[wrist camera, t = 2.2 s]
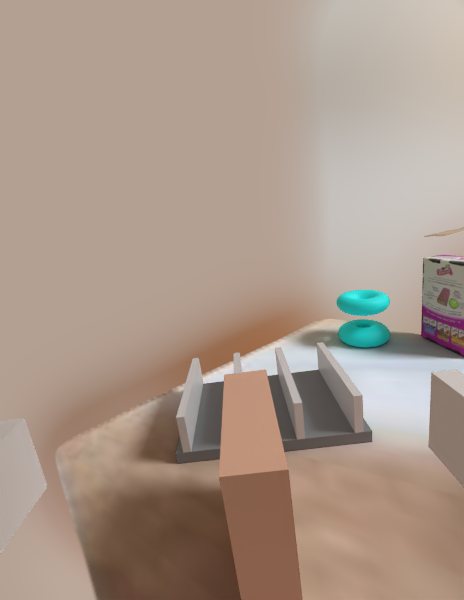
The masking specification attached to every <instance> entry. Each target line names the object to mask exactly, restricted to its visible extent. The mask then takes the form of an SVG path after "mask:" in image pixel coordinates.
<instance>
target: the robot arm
mask: <svg viewBox="0 0 464 600" xmlns="http://www.w3.org/2000/svg"><path fill="white" fill-rule="evenodd" d="M429 448H430V449H431V450H432V451H433V452H434V453H435V455H436V456H437V457H438V458H439V459H440V460H441V461H442V463H443V464H444V465H445V466H446V467H447V468H448V469H449V471H450V472H451V473H452V474H453V475H454V476H455V477H456V479H457V480H458V481H459V482H460V483H461V484H462V485H463V487H464V374H462V373H461V372H459V371H458V370H449V371H440V372H432V375H431V400H430V425H429ZM46 488H47V484H46V481H45V478H44V475H43V472H42V469H41V466H40V463H39V460H38V457H37V454H36V451H35V448H34V445H33V442H32V439H31V437H30V433H29V430H28V427H27V425H26V422H25V419H24V418H21V419H12V420H3V421H1V422H0V554H1V552H2V551H3V549H4V548H5V546H6V545H7V544H8V542H9V541H10V539H11V538H12V536H13V535H14V533H15V532H16V531H17V529H18V528H19V526H20V525H21V524H22V522H23V521H24V519H25V518H26V516H27V515H28V513H29V512H30V511H31V509H32V508H33V506H34V505H35V504H36V502H37V501H38V499H39V498H40V496H41V495H42V493H43V492H44V491H45V489H46Z"/></svg>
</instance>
